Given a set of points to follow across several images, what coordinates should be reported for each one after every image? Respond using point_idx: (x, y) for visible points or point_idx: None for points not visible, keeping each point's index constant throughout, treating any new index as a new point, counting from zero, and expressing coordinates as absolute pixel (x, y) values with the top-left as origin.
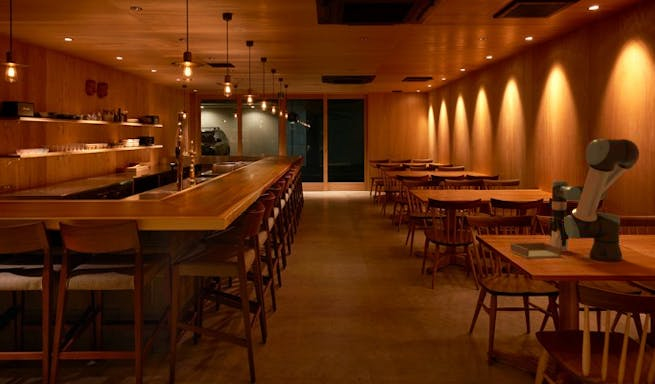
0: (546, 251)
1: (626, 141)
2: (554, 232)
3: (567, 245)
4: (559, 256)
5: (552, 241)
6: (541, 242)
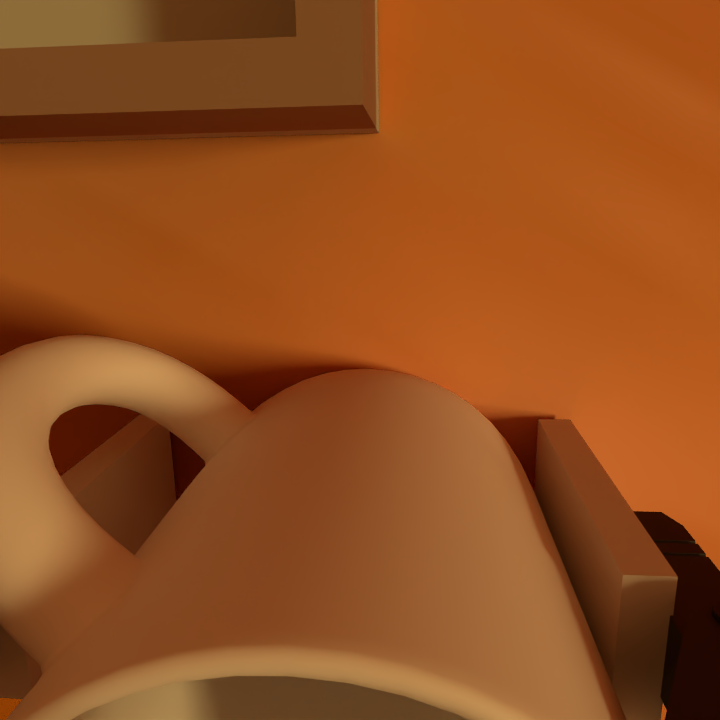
0: (12, 18)
1: None
2: (170, 644)
3: (228, 681)
4: None
5: (361, 430)
6: (344, 15)
